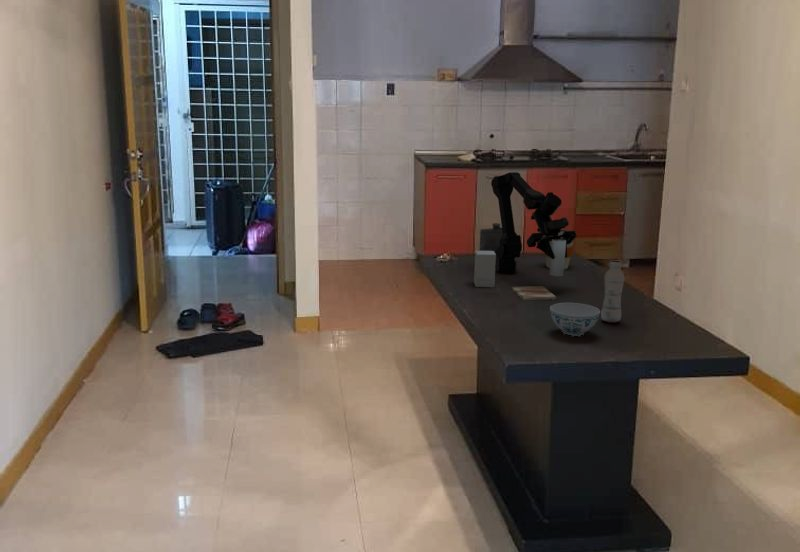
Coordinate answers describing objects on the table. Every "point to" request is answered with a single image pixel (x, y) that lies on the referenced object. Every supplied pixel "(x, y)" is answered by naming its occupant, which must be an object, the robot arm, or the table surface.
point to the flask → (491, 239)
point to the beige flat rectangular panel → (534, 293)
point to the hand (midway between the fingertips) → (559, 258)
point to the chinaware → (574, 317)
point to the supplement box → (484, 268)
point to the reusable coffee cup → (569, 253)
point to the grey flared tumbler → (558, 257)
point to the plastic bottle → (613, 292)
